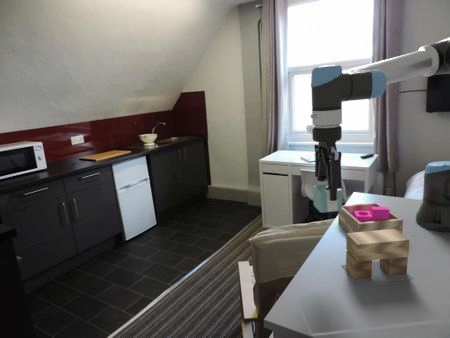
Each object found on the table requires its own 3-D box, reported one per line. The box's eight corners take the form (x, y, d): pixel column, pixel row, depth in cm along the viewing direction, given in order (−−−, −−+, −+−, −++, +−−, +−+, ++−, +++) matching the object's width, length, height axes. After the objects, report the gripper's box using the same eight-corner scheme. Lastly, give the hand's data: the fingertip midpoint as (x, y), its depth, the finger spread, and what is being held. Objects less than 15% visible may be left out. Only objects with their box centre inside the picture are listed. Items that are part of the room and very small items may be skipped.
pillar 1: (362, 267, 94) (363, 249, 92) (371, 277, 89) (372, 258, 87) (345, 269, 93) (346, 250, 92) (353, 279, 89) (354, 259, 87)
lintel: (393, 244, 93) (394, 228, 92) (408, 256, 87) (409, 239, 85) (346, 249, 93) (346, 233, 92) (357, 261, 86) (357, 244, 85)
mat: (392, 260, 97) (392, 259, 96) (413, 280, 87) (414, 278, 87) (340, 266, 96) (340, 265, 96) (356, 286, 86) (356, 285, 86)
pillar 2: (396, 264, 94) (397, 245, 93) (406, 273, 89) (408, 254, 88) (379, 266, 94) (380, 247, 92) (389, 275, 89) (390, 256, 87)
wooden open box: (375, 219, 126) (376, 202, 124) (401, 238, 109) (403, 219, 107) (338, 222, 125) (338, 205, 123) (358, 243, 108) (359, 223, 107)
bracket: (387, 237, 110) (389, 209, 108) (356, 236, 112) (356, 209, 110) (378, 223, 122) (380, 197, 119) (350, 222, 124) (350, 197, 121)
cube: (333, 203, 95) (333, 183, 94) (341, 210, 89) (342, 190, 88) (313, 205, 95) (313, 185, 93) (320, 212, 89) (320, 192, 88)
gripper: (302, 123, 95) (304, 196, 101) (326, 131, 77) (327, 221, 83) (327, 120, 96) (328, 194, 101) (356, 128, 77) (355, 217, 83)
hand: (327, 206), depth 92 cm, fingers closed on cube, 6 cm apart
